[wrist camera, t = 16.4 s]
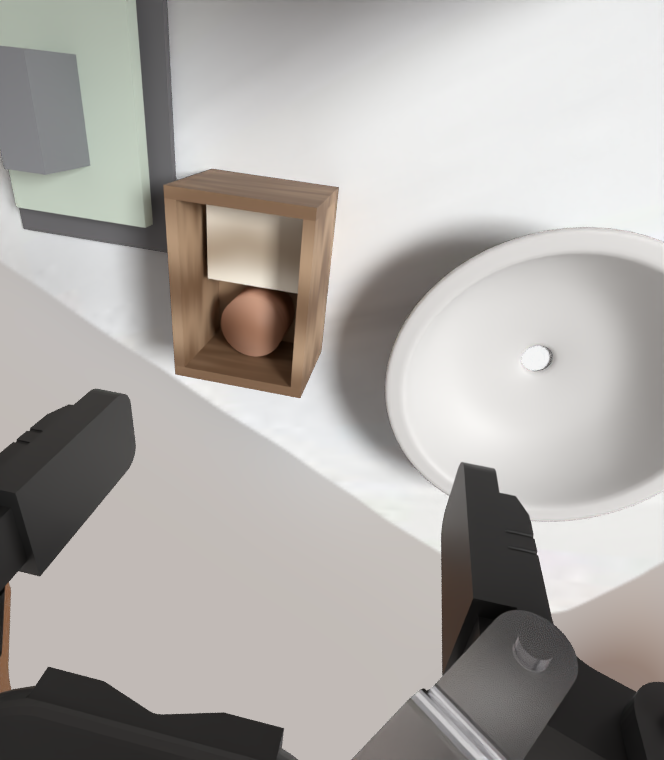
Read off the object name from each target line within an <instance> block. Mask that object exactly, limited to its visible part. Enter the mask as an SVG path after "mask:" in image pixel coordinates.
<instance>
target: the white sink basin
mask: <svg viewBox="0 0 664 760" xmlns="http://www.w3.org/2000/svg"><path fill="white" fill-rule="evenodd" d="M534 346H545V347H547V348H549V349H550V350H551V352H552V355H553V359H552V362H551V364H550V365H549V366H548V367H547V368H545V369H543V370H540V371H531V370H528V369H527V368H525V367H524V365H523V364H522V355H523V354H524V352H525V351H526V350H527V349H529V348H531V347H534ZM385 401H386V408H387V414H388V417H389V421H390V425H391V428H392V430H393V433H394V435H395V438H396V440H397V442H398V444H399V445H400V447H401V449H402V451H403V452H404V454H405V455H406V457H407V458H408V460H409V461H410V462H411V463H412V465H413V466H414V467H415V468H416V469H417V470H418V471H419V472H420V473H421V474H422V475H423V476H424V477H425V478H426V479H427V480H428V481H429V482H430V483H432V484H433V485H434V486H435V487H437V488H438V489H439V490H441V491H442V492H444V493H445V494H447V495H449V496H450V493H451V490H452V486H453V483H454V480H455V477H456V473H457V470H458V467H459V465H460V463H461V462H465V463H470V464H475V465H480V466H485V467H490V468H494V469H495V470H496V474H497V480H498V486H499V493H504V494H509V495H514V496H516V497H517V498H518V500H519V501H520V503H521V504H522V505H523V507H524V508H525V510H526V511H527V513H528V514H529V516H530V521H541V522H557V521H571V520H579V519H586V518H591V517H596V516H601V515H605V514H609V513H612V512H616V511H619V510H622V509H625V508H628V507H631V506H634V505H636V504H638V503H640V502H643V501H645V500H647V499H649V498H651V497H653V496H655V495H657V494H659V493H661V492H663V491H664V242H663V241H660V240H657V239H655V238H652V237H649V236H646V235H642V234H638V233H634V232H630V231H624V230H617V229H611V228H595V227H579V228H563V229H556V230H548V231H543V232H538V233H534V234H529V235H525V236H522V237H519V238H516V239H513V240H509V241H506V242H504V243H502V244H499V245H497V246H494V247H492V248H490V249H487V250H486V251H484V252H482V253H480V254H478V255H476V256H474V257H472V258H470V259H469V260H467V261H466V262H464V263H463V264H461V265H460V266H458V267H456V268H455V269H454V270H452V271H451V272H450V273H449V274H447V275H446V276H445V277H443V278H442V279H441V280H440V281H439V282H438V283H437V284H436V285H434V286H433V287H432V288H431V289H430V290H429V291H428V292H427V293H426V294H425V295H424V297H423V298H422V299H421V300H420V301H419V302H418V304H417V305H416V306H415V307H414V309H413V310H412V312H411V313H410V314H409V316H408V317H407V319H406V320H405V322H404V324H403V326H402V328H401V329H400V331H399V333H398V335H397V338H396V340H395V342H394V345H393V347H392V350H391V354H390V357H389V360H388V365H387V371H386V379H385Z"/></svg>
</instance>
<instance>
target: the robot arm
mask: <svg viewBox="0 0 664 760" xmlns="http://www.w3.org/2000/svg"><path fill="white" fill-rule="evenodd" d="M135 448H136V445H135V435H134V427H133V419H132V411H131V403H130V399H129V397H128V396H127V395H125V394H121V393H116V392H111V391H105V390H101V389H93V390H91V391H90V392H88V393H87V394H86V395H85V396H84V397H82V398H81V399H80V400H79V401H78V402H77V403H75V404H74V405H67V406H65V407H62V408H60V409H58V410H56V411H54V412H51V413H49V414H47V415H46V416H45V417H43V418H42V419H41V420H40V421H39V422H37V423H36V424H35V425H34V426H32V427H31V428H30V431H26V432H25V433H24V434H23V435H21V436H20V437H19V438H18V439H17V442H16V443H14V442H13V443H12V444H10V445H9V446H8V447H7V448H6V449H4V450H3V451H2V452H1V453H0V760H298V759H296V758H295V757H294V756H293V755H291V754H290V753H288V752H286V751H285V750H283V749H282V740H283V731H284V728H281V727H277V726H273V725H269V724H265V723H261V722H258V721H254V720H250V719H246V718H242V717H239V716H235V715H231V714H227V713H197V714H165V715H161V714H155V713H152V712H150V711H148V710H147V709H145V708H144V707H142V706H141V705H139V704H138V703H136V702H135V701H133V700H132V699H130V698H129V697H127V696H126V695H124V694H123V693H121V692H119V691H118V690H116V689H115V688H113V687H112V686H110V685H109V684H107V683H106V682H104V681H101V680H97V679H93V678H89V677H86V676H81V675H78V674H74V673H70V672H66V671H63V670H59V669H55V668H51V667H48V668H47V670H46V671H45V672H44V674H43V675H42V677H41V678H40V680H39V681H38V683H37V684H36V686H31V687H25V688H18V689H13V690H11V686H10V681H9V669H8V662H9V634H10V605H11V604H10V603H11V587H10V585H9V581H10V580H11V579H12V578H13V576H14V575H15V574H16V573H17V572H18V571H20V572H24V573H28V574H33V575H37V576H41V575H42V573H43V572H44V571H45V570H46V568H47V567H48V566H49V565H50V564H51V562H52V561H53V560H54V559H55V558H56V556H57V555H58V554H59V553H60V552H61V550H62V549H63V548H64V546H65V545H66V544H67V543H68V542H69V541H70V539H71V538H72V537H73V536H74V535H75V533H76V532H77V531H78V529H79V528H80V527H81V526H82V525H83V524H84V522H85V521H86V520H87V519H88V518H89V516H90V515H91V514H92V513H93V512H94V510H95V509H96V508H97V507H98V505H99V504H100V503H101V502H102V500H103V499H104V498H105V497H106V496H107V494H108V493H109V492H110V491H111V490H112V488H113V487H114V486H115V485H116V484H117V482H118V481H119V480H120V479H121V477H122V476H123V475H124V474H125V472H126V471H127V470H128V469H129V467H130V465H131V463H132V461H133V458H134V455H135ZM441 562H442V563H441V565H442V567H441V570H442V675H443V676H442V678H441V679H440V680H439V681H438V682H437V683H436V684H435V685H434V686H433V687H432V688H431V689H429V690H427V691H426V690H425V689H421V690H419V691H418V692H416V693H415V694H414V695H413V696H412V697H411V698H410V699H409V700H408V701H407V702H406V703H405V704H404V705H403V706H402V707H401V708H400V709H399V710H398V711H397V712H396V713H395V714H394V715H393V716H392V717H391V718H390V720H389V721H388V722H387V723H386V724H385V725H384V726H383V727H382V728H381V729H380V730H379V731H378V732H377V733H376V734H375V735H374V736H373V737H372V738H371V740H370V741H369V742H368V743H367V744H366V745H365V746H364V747H363V748H362V749H361V750H360V751H359V752H358V753H357V754H356V755H355V756H354V757H353V759H352V760H664V683H663V682H652V683H648V684H645V685H643V686H642V687H641V688H640V689H639V690H638V691H637V692H636V691H634V690H632V689H630V688H628V687H626V686H624V685H622V684H620V683H619V682H617V681H615V680H613V679H611V678H609V677H607V676H605V675H604V674H602V673H600V672H597V671H596V670H594V669H593V668H591V667H589V666H588V665H587V664H585V663H584V662H583V661H581V660H580V659H579V658H578V657H577V656H576V654H575V651H574V649H573V647H572V645H571V643H570V642H569V641H568V639H567V638H566V636H565V635H564V634H563V633H562V632H561V631H560V630H559V629H558V628H557V627H556V626H555V625H554V624H553V621H552V617H551V612H550V608H549V603H548V599H547V594H546V590H545V585H544V580H543V576H542V571H541V567H540V562H539V557H538V555H537V548H536V544H535V539H533V530H532V525H531V521H530V516H529V514H528V513H527V511H526V510H525V508H524V507H523V505H522V504H521V503H520V501H519V500H518V498H517V497H516V496H514V495H509V494H504V493H499V486H498V480H497V474H496V470H495V469H494V468H490V467H485V466H480V465H475V464H470V463H465V462H461V463H460V465H459V467H458V470H457V473H456V477H455V480H454V483H453V486H452V490H451V493H450V496H449V499H448V503H447V506H446V509H445V513H444V518H443V524H442V532H441Z"/></svg>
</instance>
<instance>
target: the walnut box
mask: <svg viewBox="0 0 664 760" xmlns="http://www.w3.org/2000/svg"><path fill="white" fill-rule="evenodd" d="M163 187H164V203H165V219H166V234H167V250H168V266H169V282H170V297H171V313H172V329H173V344H174V360H175V374H176V375H181V376H187V377H192V378H197V379H202V380H208V381H213V382H218V383H223V384H229V385H234V386H239V387H244V388H249V389H255V390H260V391H265V392H270V393H276V394H281V395H286V396H291V397H297V398H301V395H302V393H303V391H304V389H305V387H306V384H307V382H308V380H309V378H310V375H311V373H312V371H313V369H314V367H315V364H316V362H317V360H318V358H319V356H320V353H321V349H322V340H323V330H324V321H325V312H326V302H327V293H328V284H329V274H330V265H331V255H332V246H333V237H334V227H335V218H336V209H337V199H338V190H339V187H333V186H326V185H319V184H312V183H306V182H299V181H292V180H285V179H278V178H271V177H264V176H257V175H251V174H244V173H237V172H230V171H223V170H216V169H210V170H207V171H204V172H201V173H198V174H195V175H192V176H189V177H186V178H183V179H180V180H177V181H174V182H171V183H168V184H165V185H163Z"/></svg>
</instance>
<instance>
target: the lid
mask: <svg viewBox="0 0 664 760" xmlns="http://www.w3.org/2000/svg"><path fill="white" fill-rule="evenodd" d="M0 151H1V156H2V160H3V165H4V169H9V174H10V179H11V184H12V188H13V193H14V198H15V203H16V207H19V208H25V209H31V210H37V211H44V212H50V213H56V214H62V215H68V216H75V217H81V218H87V219H93V220H100V221H106V222H112V223H118V224H125V225H131V226H137V227H143V228H146V227H148V226H151V225H153V219H152V206H151V193H150V180H149V167H148V154H147V141H146V128H145V115H144V102H143V89H142V76H141V62H140V49H139V36H138V23H137V10H136V0H0Z"/></svg>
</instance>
